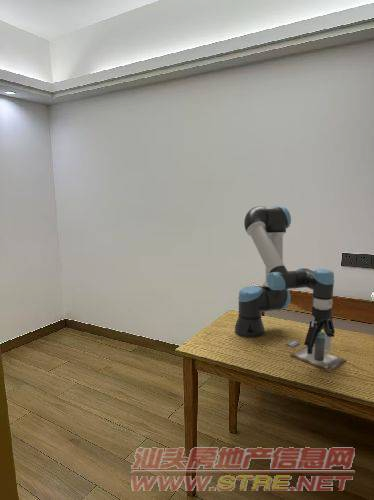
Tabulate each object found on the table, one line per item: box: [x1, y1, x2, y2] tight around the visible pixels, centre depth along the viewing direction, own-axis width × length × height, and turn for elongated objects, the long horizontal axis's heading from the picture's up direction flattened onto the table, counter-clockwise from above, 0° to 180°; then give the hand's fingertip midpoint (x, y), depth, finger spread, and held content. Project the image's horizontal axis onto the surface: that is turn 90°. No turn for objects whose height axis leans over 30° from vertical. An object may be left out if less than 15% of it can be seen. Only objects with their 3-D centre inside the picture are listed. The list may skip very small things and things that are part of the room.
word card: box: [284, 339, 301, 348], centre depth 158 cm, size 4×6×1 cm, turn 130°
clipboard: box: [290, 345, 347, 373], centre depth 144 cm, size 18×14×2 cm
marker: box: [314, 331, 326, 363], centre depth 140 cm, size 4×4×12 cm
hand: (319, 355), depth 140 cm, fingers open, 13 cm apart
